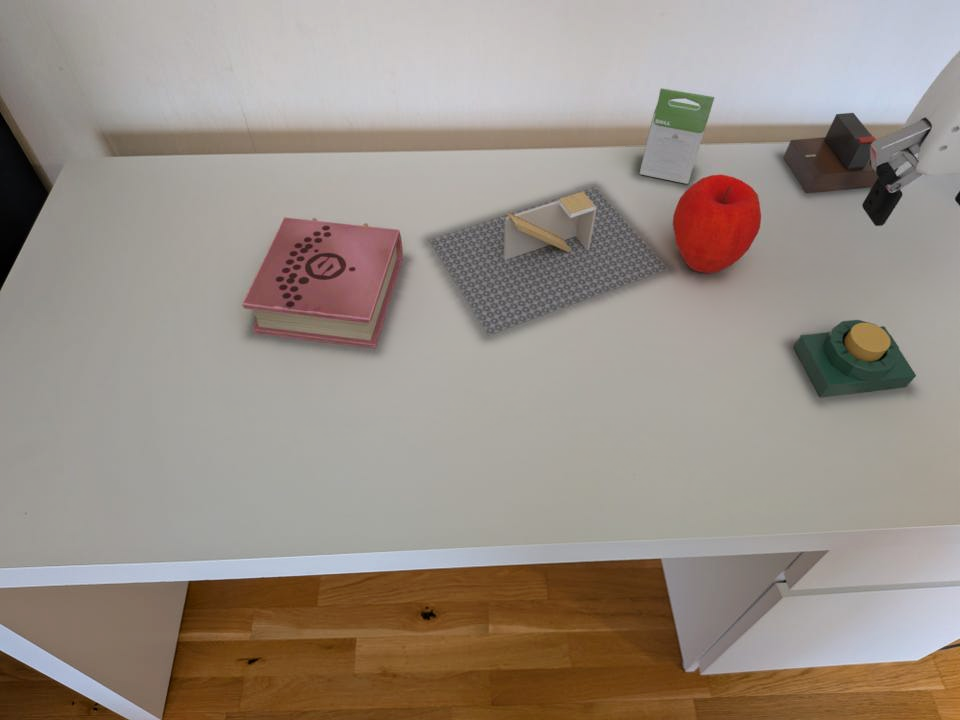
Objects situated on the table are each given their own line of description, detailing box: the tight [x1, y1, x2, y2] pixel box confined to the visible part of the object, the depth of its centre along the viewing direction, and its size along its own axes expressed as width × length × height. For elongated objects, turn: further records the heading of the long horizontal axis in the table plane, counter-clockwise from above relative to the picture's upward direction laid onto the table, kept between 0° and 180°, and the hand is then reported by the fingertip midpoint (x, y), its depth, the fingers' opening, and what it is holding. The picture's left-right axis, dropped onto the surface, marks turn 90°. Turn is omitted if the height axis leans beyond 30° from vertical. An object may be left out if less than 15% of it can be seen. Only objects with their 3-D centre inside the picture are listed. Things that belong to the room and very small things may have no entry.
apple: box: [672, 174, 762, 274], centre depth 81 cm, size 10×10×12 cm
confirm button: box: [844, 322, 890, 362], centre depth 72 cm, size 4×4×2 cm
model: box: [503, 190, 598, 260], centre depth 83 cm, size 3×11×8 cm, turn 115°
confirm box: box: [793, 319, 917, 398], centre depth 74 cm, size 10×7×4 cm
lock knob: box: [824, 112, 877, 170], centre depth 93 cm, size 7×2×4 cm, turn 8°
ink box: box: [639, 88, 716, 185], centre depth 91 cm, size 7×4×13 cm, turn 71°
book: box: [241, 216, 404, 349], centre depth 80 cm, size 14×15×5 cm
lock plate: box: [783, 136, 899, 194], centre depth 95 cm, size 12×8×3 cm, turn 98°
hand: (918, 212), depth 66 cm, fingers open, 9 cm apart
